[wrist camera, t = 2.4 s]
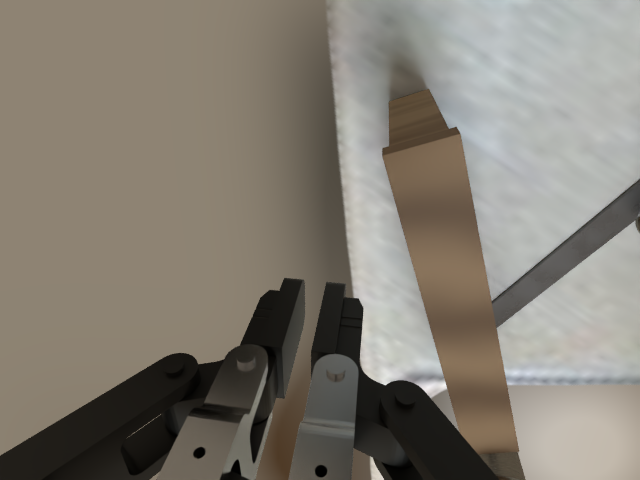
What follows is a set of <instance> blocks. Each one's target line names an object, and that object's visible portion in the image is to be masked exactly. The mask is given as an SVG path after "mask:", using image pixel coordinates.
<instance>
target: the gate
mask: <svg viewBox="0 0 640 480" xmlns="http://www.w3.org/2000/svg"><path fill="white" fill-rule="evenodd" d="M382 156H383V160H384V164H385V167H386V171H387V174H388V178H389V181H390V185H391V189H392V192H393V196H394V199H395V203H396V206H397V210H398V214H399V217H400V221H401V224H402V228H403V231H404V235H405V239H406V242H407V246H408V249H409V253H410V256H411V260H412V264H413V267H414V271H415V274H416V278H417V282H418V285H419V289H420V292H421V296H422V299H423V303H424V307H425V310H426V314H427V317H428V321H429V324H430V328H431V332H432V335H433V339H434V342H435V346H436V349H437V353H438V357H439V360H440V364H441V367H442V371H443V374H444V378H445V382H446V385H447V389H448V392H449V396H450V399H451V403H452V406H453V410H454V414H455V417H456V421H457V424H458V428H459V431H460V434H461V435H462V436H463V437H464V438H465V440H466V441H467V442H468V443H469V444H470V445H471V447H472V448H473V449H474V450H475V451H476V452H477V454H492V453H507V452H519V448H518V443H517V437H516V432H515V427H514V421H513V415H512V410H511V405H510V399H509V394H508V388H507V383H506V378H505V372H504V367H503V361H502V356H501V351H500V345H499V340H498V334H497V329H496V324H495V318H494V313H493V307H492V302H491V297H490V291H489V286H488V281H487V275H486V270H485V264H484V259H483V254H482V248H481V243H480V237H479V232H478V227H477V221H476V216H475V210H474V205H473V200H472V194H471V189H470V183H469V178H468V173H467V167H466V162H465V156H464V151H463V146H462V140H461V135H460V132H459V131H458V129H457V127H454V128H451V129H449V128H448V126H447V124H446V122H445V120H444V118H443V116H442V114H441V112H440V110H439V108H438V106H437V104H436V102H435V100H434V98H433V96H432V94H431V92H430V90H429V89H427V90H424V91H420V92H417V93H414V94H411V95H408V96H405V97H402V98H399V99H395V100H392V101H389V147H385V148H383V151H382Z"/></svg>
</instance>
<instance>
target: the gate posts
mask: <svg viewBox="0 0 640 480" xmlns="http://www.w3.org/2000/svg"><path fill="white" fill-rule="evenodd" d="M635 220H636V227H637V230H638V231H639V233H640V180H639V181H638V182H637V183H635V184H634V185H633V186H632V187H631V188H629V189H628V190H627V191H626V192H625V193H623V194H622V195H621V196H620V197H619V198H617V199H616V200H615V201H614V202H612V203H611V204H610V205H609V206H608V207H606V208H605V209H604V210H603V211H602V212H600V213H599V214H598V215H597V216H596V217H594V218H593V219H592V220H591V221H590V222H588V223H587V224H586V225H585V226H583V227H582V228H581V229H580V230H579V231H577V232H576V233H575V234H574V235H573V236H571V237H570V238H569V239H568V240H567V241H565V242H564V243H563V244H562V245H560V246H559V247H558V248H557V249H556V250H554V251H553V252H552V253H551V254H550V255H548V256H547V257H546V258H545V259H544V260H542V261H541V262H540V263H539V264H537V265H536V266H535V267H534V268H533V269H531V270H530V271H529V272H528V273H527V274H525V275H524V276H523V277H522V278H521V279H519V280H518V281H517V282H516V283H515V284H513V285H512V286H511V287H510V288H508V289H507V290H506V291H505V292H504V293H502V294H501V295H500V296H499V297H498V298H496V299H495V300H494V301H493V302H492V307H493V313H494V318H495V324H496V328H497V327H499V326H500V325H501V324H502V323H504V322H505V321H506V320H508V319H509V318H510V317H511V316H513V315H514V314H515V313H517V312H518V311H519V310H520V309H522V308H523V307H524V306H526V305H527V304H528V303H529V302H531V301H532V300H533V299H535V298H536V297H537V296H538V295H540V294H541V293H542V292H544V291H545V290H546V289H547V288H549V287H550V286H551V285H553V284H554V283H555V282H556V281H558V280H559V279H560V278H561V277H563V276H564V275H565V274H567V273H568V272H569V271H570V270H572V269H573V268H574V267H576V266H577V265H578V264H579V263H581V262H582V261H583V260H585V259H586V258H587V257H588V256H590V255H591V254H592V253H594V252H595V251H596V250H597V249H599V248H600V247H601V246H603V245H604V244H605V243H606V242H608V241H609V240H610V239H612V238H613V237H614V236H615V235H617V234H618V233H619V232H621V231H622V230H623V229H624V228H626V227H627V226H628V225H630V224H631V223H632V222H633V221H635ZM478 455H479V456H480V457H481V458H482V459H483V461H484V462H485V463H486V464H487V465H488V467H489V468H490V469H491V470H492V471H493V472H494V474H495V475H496V476H497V477H498V478H499V479H500V480H525V476H524V473H523V469H522V466H521V463H520V459H519V456H518V452H507V453H492V454H478Z"/></svg>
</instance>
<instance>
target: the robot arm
mask: <svg viewBox="0 0 640 480" xmlns="http://www.w3.org/2000/svg"><path fill="white" fill-rule="evenodd" d="M304 284H305V283H304V280H301V279H290V278H284V280H283V283H282V285H281V288H280V291H275V290H269V291H268V292H267V293H265V294H264V295H263V296H262V297H261V298H260V300H259V303H258V305H257V307H256V310H255V312H254V314H253V317H252V319H251V321H250V323H249V326H248V328H247V330H246V332H245V335H244V337H243V340H242V342H241V344H240V346H237V347H235V348H234V349H232V350H231V351H230V352H228V354H227V355H226V357H225V359H224V360H221V361H217V362H211V363H204V364H198V363H197V360H196V359H195V358H194V357H193V356H192V355H189V354H186V353H176V354H172V355H169V356H166V357H164V358H163V359H161V360H159V361H158V362H156V363H154V364H152V365H151V366H149V367H147V368H146V369H144V370H142V371H141V372H139V373H137V374H136V375H134V376H132V377H131V378H129V379H127V380H126V381H124V382H122V383H121V384H119V385H117V386H116V387H114V388H112V389H111V390H109V391H107V392H106V393H104V394H102V395H101V396H99V397H97V398H96V399H94V400H92V401H91V402H89V403H88V404H86V405H84V406H82V407H81V408H79V409H77V410H76V411H74V412H72V413H71V414H69V415H67V416H66V417H64V418H62V419H61V420H59V421H57V422H56V423H54V424H53V425H51V426H49V427H47V428H46V429H44V430H42V431H41V432H39V433H37V434H36V435H34V436H33V437H31V438H29V439H27V440H26V441H24V442H22V443H21V444H19V445H17V446H16V447H14V448H12V449H11V450H9V451H7V452H6V453H4V454H2V455H1V456H0V480H149V479H151V478H152V477H153V476H154V475H156V474H157V473H158V472H160V473H159V475H158V477H157V479H156V480H256V473H257V469H258V465H259V462H260V458H261V455H262V451H263V448H264V444H265V440H266V437H267V434H268V430H269V427H270V423H271V420H272V410H273V406H274V403H275V399H276V398H285V394H286V391H287V387H288V383H289V379H290V375H291V372H292V368H293V364H294V360H295V356H296V353H297V348H298V345H299V341H300V337H301V333H302V330H303V325H304V317H305V285H304ZM345 294H346V284H343V283H332V282H326V286H325V291H324V296H323V300H322V305H321V309H320V314H319V318H318V323H317V327H316V332H315V336H314V341H313V346H312V350H311V385H310V390H309V395H308V400H307V405H306V410H305V415H304V420H303V422H301V423H300V426H299V431H298V435H297V440H296V445H295V451H294V455H293V460H292V465H291V470H290V475H289V480H351V476H352V462H353V448H355V449H357V450H359V451H361V452H363V453H365V454H367V455H369V456H371V457H373V459H374V462H375V465H376V467H377V468H378V470H379V471H380V473H381V475H382V476H383V478H384V480H500V479H499V478H498V477H497V476H496V475H495V474H494V472H493V471H492V470H491V469H490V468H489V467H488V465H487V464H486V463H485V462H484V461H483V459H482V458H481V457H480V456H479V455H478V454H477V452H476V451H475V450H474V449H473V448H472V447H471V445H470V444H469V443H468V442H467V441H466V440H465V438H464V437H463V436H462V435H461V434H460V432H459V431H458V430H457V429H456V428H455V427H454V425H452V423H451V422H450V421H449V420H448V418H447V417H446V416H445V415H444V414H443V413H442V411H441V410H440V409H439V408H438V407H437V405H436V404H435V403H434V402H433V401H432V400H431V398H430V397H429V396H428V395H427V394H426V393H425V391H424V390H423V389H422V388H420V387H419V386H418V385H416V384H414V383H412V382H408V381H403V380H398V381H393V382H390V383H389V384H387V385H386V386H385V385H383V384H381V383H378V382H376V381H374V380H372V379H371V378H369V377H368V376H367V375H366V374H365V373H364V372H363V370H362V369H361V366H360V347H361V334H362V321H363V306H362V304H361V303H360V301H359V299H357V298H346V297H345ZM160 414H161V415H160ZM159 415H160V416H159ZM157 416H158V417H157ZM156 417H157V418H156ZM154 418H155V419H154ZM153 419H154V420H153ZM151 420H153V421H151ZM150 421H151V422H150ZM148 422H150V423H148ZM147 423H148V424H147ZM146 424H147V425H146ZM144 425H145V426H144ZM143 426H144V427H143ZM141 427H143V428H141ZM140 428H141V429H140ZM138 429H140V430H138ZM137 430H138V431H137ZM136 431H137V432H136ZM134 432H135V433H134ZM132 433H134V434H132ZM131 434H132V435H131ZM130 435H131V436H130ZM129 436H130V437H129ZM127 437H128V438H127ZM126 438H127V439H126Z"/></svg>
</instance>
